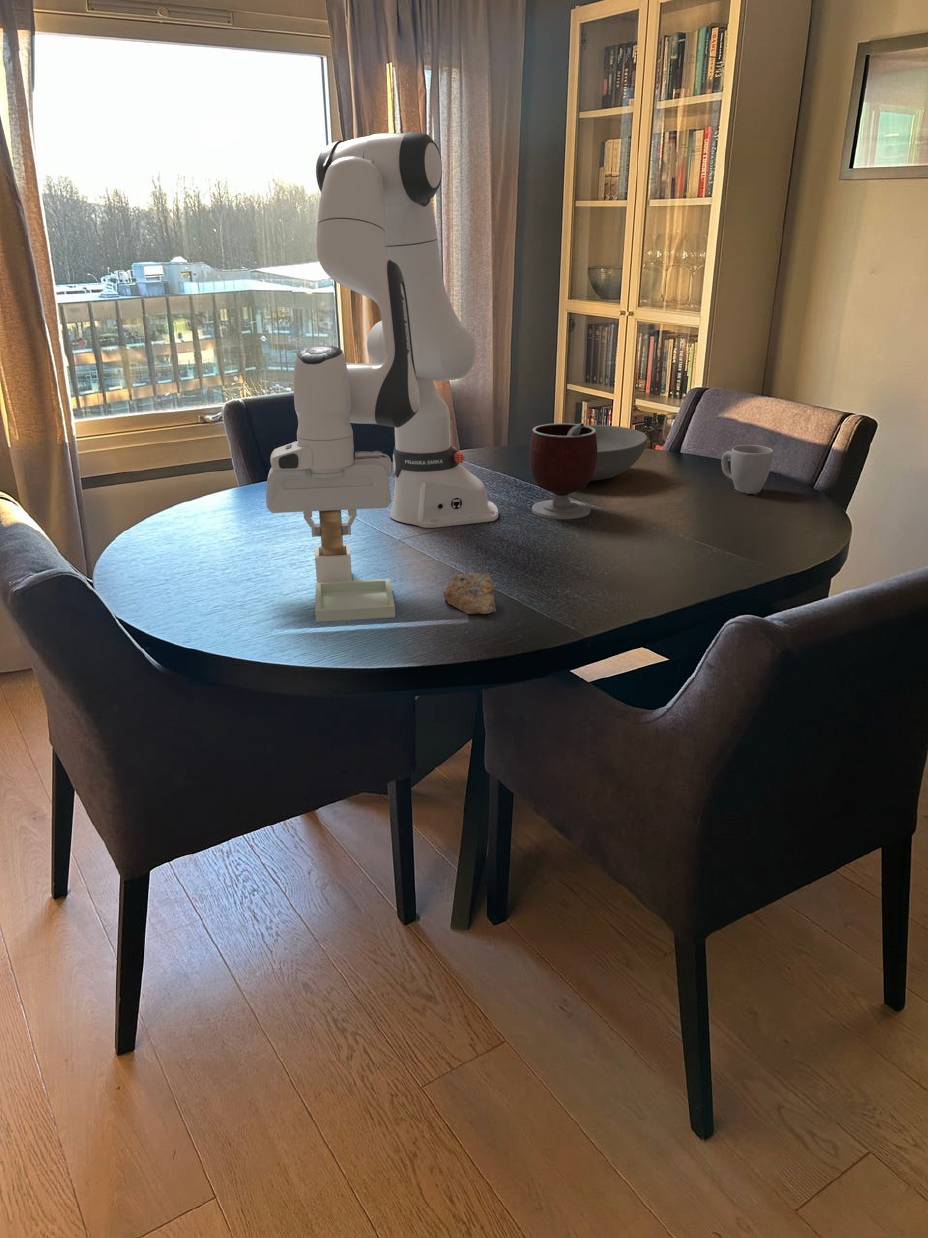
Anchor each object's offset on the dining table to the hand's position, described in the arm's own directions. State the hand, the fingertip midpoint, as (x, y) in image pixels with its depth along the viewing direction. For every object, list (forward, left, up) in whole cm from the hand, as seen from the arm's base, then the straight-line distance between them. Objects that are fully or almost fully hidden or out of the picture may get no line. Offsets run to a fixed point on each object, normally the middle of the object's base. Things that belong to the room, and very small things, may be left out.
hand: (331, 535), depth 152 cm
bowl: (-61, -61, -9) cm, 87 cm away
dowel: (0, 0, -8) cm, 8 cm away
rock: (-22, +13, -9) cm, 27 cm away
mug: (-92, -44, -8) cm, 102 cm away
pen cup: (0, 0, -8) cm, 8 cm away
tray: (-3, +12, -8) cm, 15 cm away
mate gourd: (-48, -34, -8) cm, 59 cm away
